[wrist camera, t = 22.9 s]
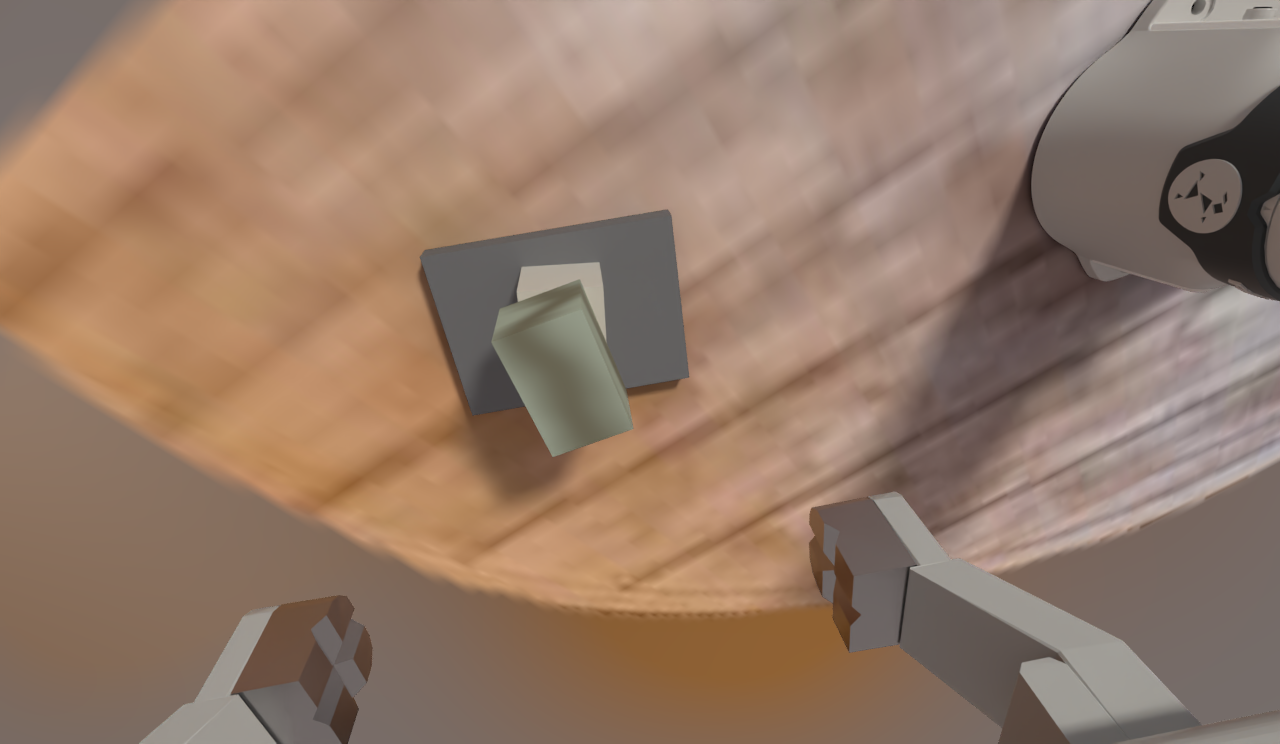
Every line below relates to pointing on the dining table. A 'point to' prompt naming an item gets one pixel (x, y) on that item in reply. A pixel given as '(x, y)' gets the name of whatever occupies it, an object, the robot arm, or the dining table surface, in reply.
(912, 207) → the dining table surface
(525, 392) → the sage brick
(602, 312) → the cream brick
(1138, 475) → the dining table surface
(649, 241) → the base plate
